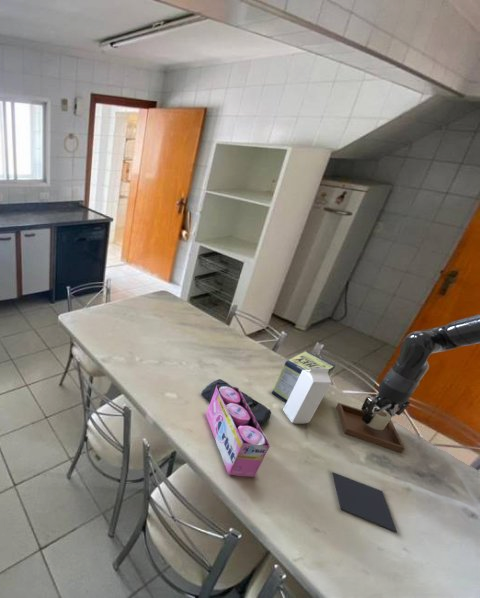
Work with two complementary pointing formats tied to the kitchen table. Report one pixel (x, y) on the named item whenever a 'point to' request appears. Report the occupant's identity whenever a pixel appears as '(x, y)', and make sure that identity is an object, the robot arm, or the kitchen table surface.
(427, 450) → the kitchen table surface
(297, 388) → the milk
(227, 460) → the gum box
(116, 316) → the kitchen table surface
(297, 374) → the protein box
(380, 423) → the masking tape
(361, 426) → the tray
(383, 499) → the mat
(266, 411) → the black pouch
